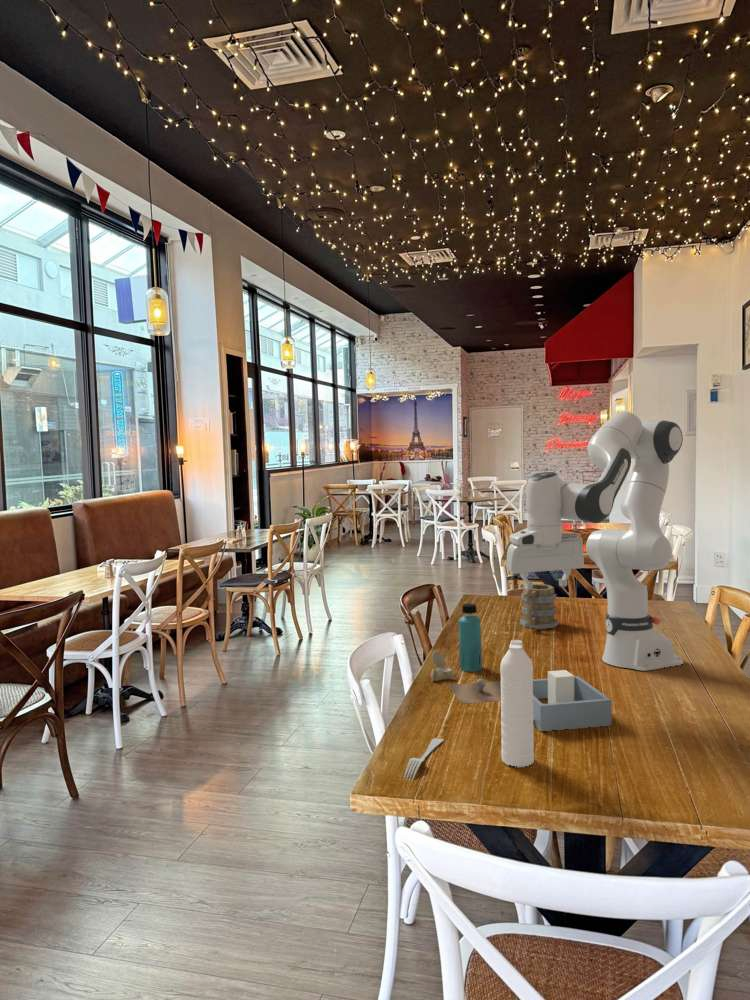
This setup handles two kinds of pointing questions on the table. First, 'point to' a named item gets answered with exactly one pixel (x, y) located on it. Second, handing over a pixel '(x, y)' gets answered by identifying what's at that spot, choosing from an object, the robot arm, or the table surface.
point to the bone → (440, 668)
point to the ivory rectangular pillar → (560, 686)
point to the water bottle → (517, 707)
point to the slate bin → (571, 708)
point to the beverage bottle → (470, 640)
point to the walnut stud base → (477, 691)
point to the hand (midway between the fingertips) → (546, 587)
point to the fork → (432, 745)
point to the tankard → (539, 607)
